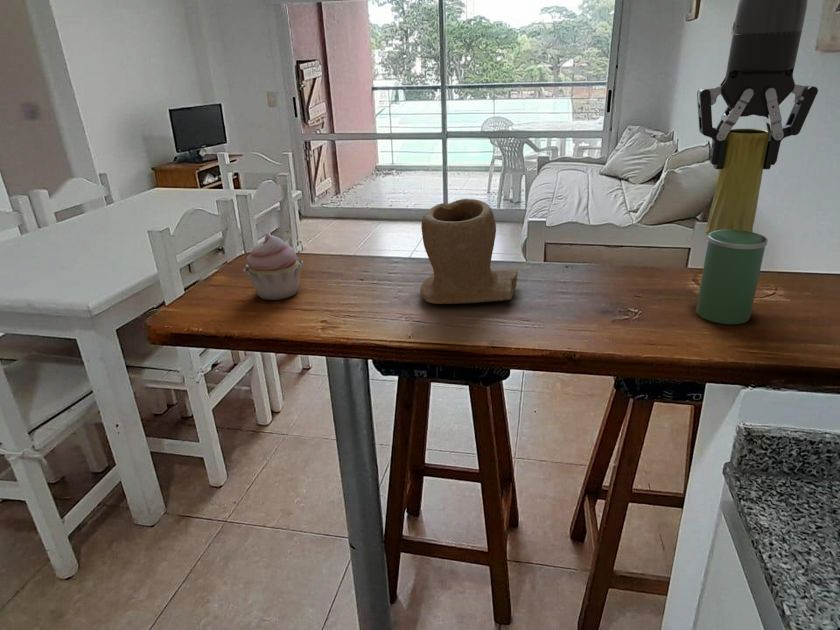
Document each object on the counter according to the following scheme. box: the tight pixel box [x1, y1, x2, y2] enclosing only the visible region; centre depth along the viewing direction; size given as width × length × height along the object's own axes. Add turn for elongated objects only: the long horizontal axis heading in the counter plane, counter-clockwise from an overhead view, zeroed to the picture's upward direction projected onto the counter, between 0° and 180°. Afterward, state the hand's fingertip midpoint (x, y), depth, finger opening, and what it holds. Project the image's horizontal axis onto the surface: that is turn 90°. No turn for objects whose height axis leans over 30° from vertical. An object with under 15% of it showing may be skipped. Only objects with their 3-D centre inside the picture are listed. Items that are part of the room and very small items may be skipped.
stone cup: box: [419, 198, 519, 305], centre depth 84 cm, size 15×12×15 cm
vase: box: [704, 128, 770, 236], centre depth 79 cm, size 6×6×14 cm
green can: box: [695, 230, 768, 325], centre depth 76 cm, size 7×7×11 cm
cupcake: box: [242, 233, 304, 301], centre depth 90 cm, size 9×9×10 cm
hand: (741, 167), depth 78 cm, fingers closed on vase, 5 cm apart
